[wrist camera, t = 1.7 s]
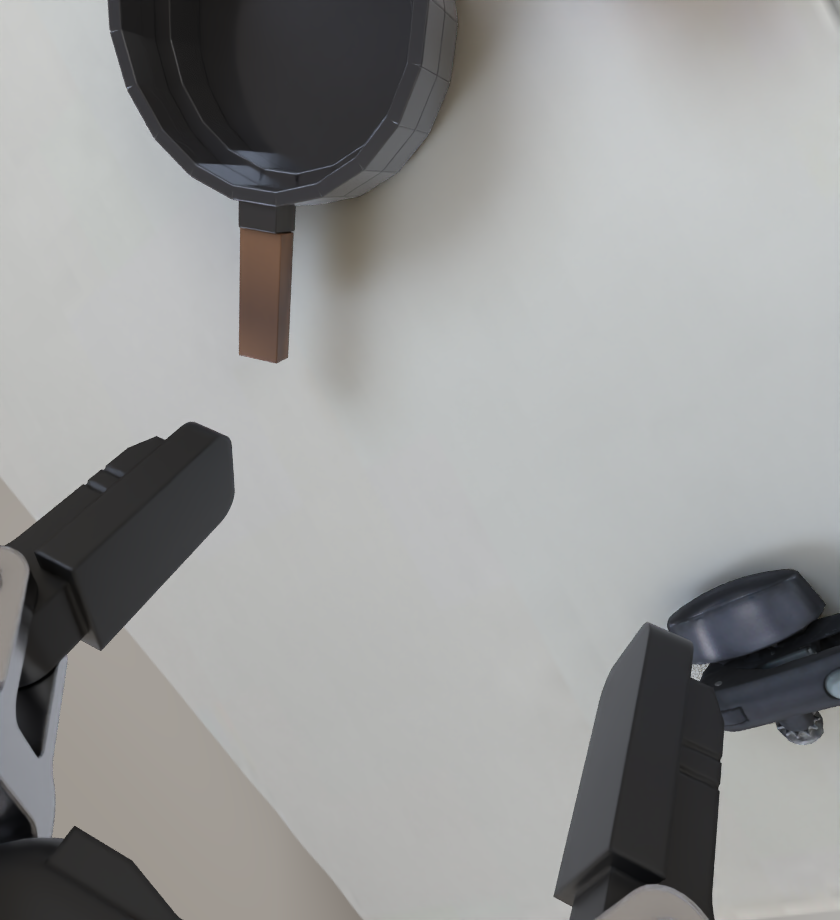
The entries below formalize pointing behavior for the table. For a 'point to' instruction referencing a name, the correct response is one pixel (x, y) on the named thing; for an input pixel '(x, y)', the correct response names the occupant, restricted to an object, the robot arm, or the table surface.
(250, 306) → the pan handle
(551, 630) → the table surface
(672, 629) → the can opener
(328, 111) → the pan
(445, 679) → the table surface
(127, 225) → the table surface
